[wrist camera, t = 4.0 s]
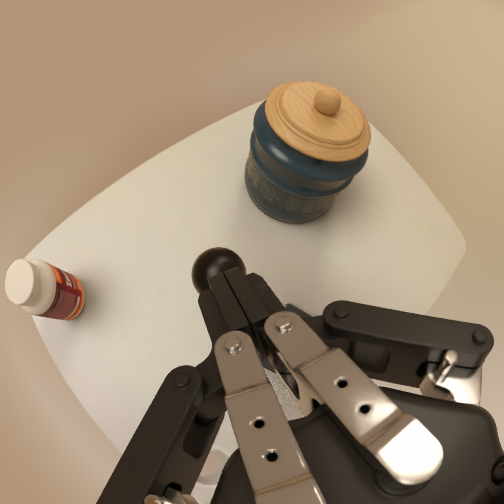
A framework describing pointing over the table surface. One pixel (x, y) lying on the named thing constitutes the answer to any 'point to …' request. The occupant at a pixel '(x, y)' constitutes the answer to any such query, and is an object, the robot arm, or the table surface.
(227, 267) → the lever
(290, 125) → the canister
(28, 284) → the pill bottle
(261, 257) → the table surface
